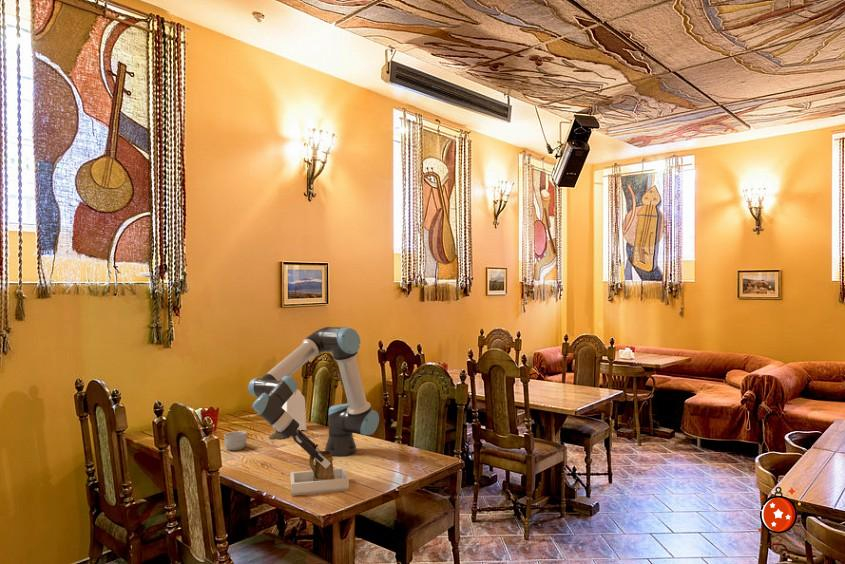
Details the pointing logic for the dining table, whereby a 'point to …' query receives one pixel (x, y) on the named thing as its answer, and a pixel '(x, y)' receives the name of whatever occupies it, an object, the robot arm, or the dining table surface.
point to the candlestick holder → (276, 435)
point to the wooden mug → (321, 471)
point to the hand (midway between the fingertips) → (327, 463)
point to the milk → (296, 409)
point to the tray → (318, 483)
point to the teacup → (235, 440)
